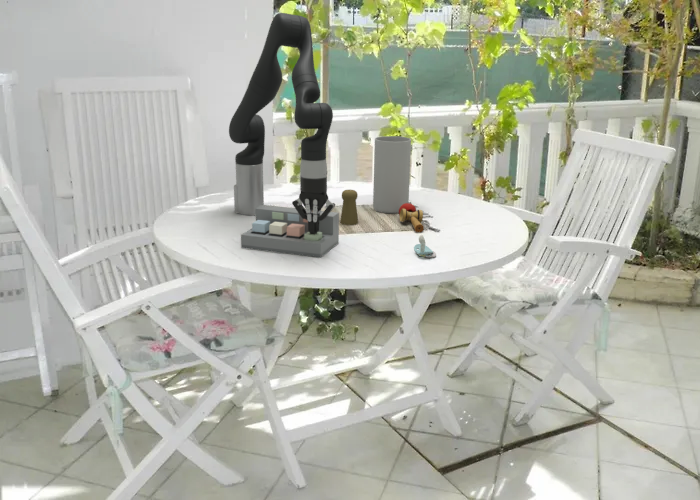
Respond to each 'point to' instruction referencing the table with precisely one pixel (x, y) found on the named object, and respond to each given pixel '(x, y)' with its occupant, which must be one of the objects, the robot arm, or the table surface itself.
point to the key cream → (278, 229)
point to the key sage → (313, 236)
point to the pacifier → (423, 248)
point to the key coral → (295, 231)
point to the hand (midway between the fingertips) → (313, 233)
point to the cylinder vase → (391, 173)
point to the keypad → (285, 243)
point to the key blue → (261, 227)
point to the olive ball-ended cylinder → (349, 208)
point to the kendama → (411, 216)
